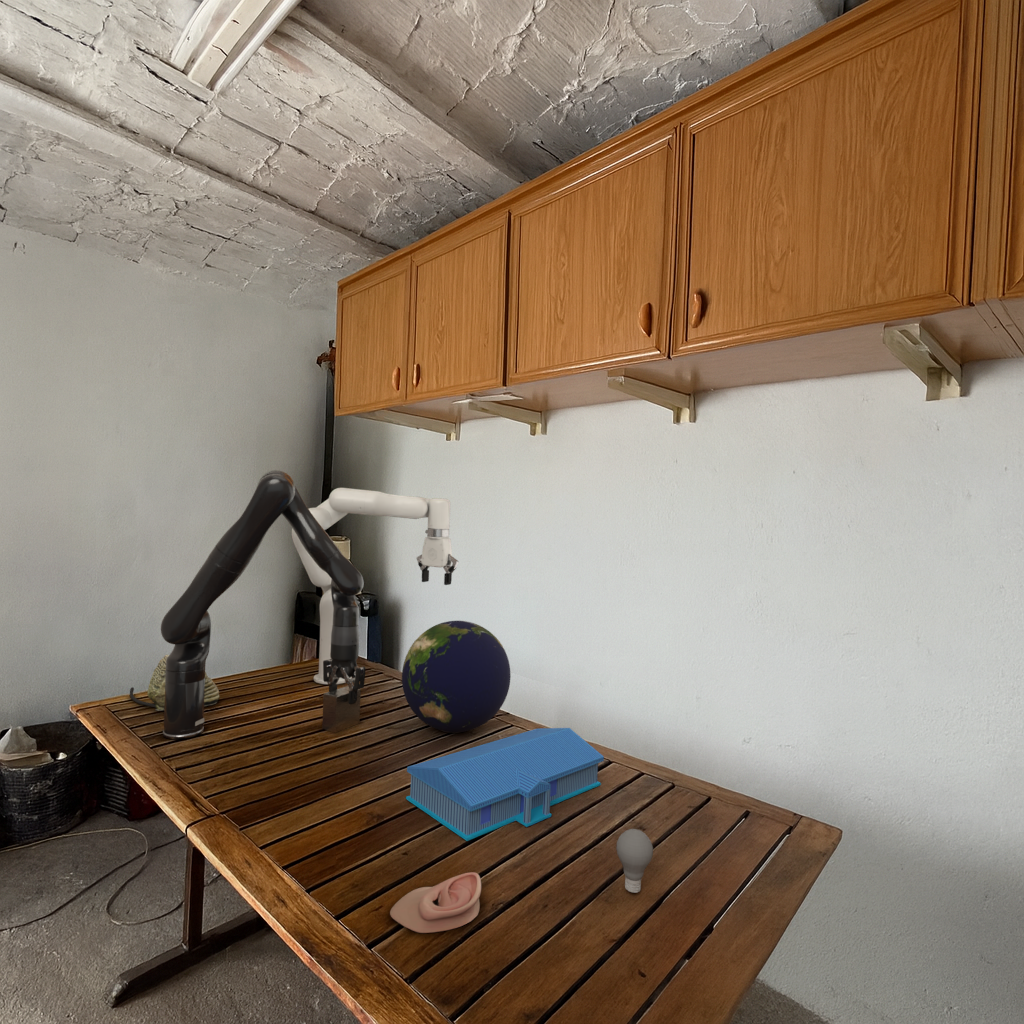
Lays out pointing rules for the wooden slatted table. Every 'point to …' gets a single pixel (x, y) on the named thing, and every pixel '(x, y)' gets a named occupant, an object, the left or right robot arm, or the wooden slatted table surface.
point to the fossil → (158, 687)
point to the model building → (504, 780)
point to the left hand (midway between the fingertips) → (342, 700)
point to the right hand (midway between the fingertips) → (436, 583)
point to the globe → (456, 676)
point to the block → (340, 710)
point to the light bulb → (634, 857)
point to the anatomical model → (440, 905)
